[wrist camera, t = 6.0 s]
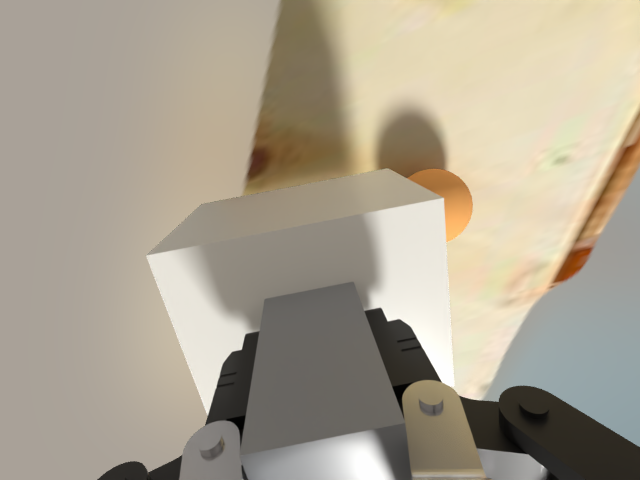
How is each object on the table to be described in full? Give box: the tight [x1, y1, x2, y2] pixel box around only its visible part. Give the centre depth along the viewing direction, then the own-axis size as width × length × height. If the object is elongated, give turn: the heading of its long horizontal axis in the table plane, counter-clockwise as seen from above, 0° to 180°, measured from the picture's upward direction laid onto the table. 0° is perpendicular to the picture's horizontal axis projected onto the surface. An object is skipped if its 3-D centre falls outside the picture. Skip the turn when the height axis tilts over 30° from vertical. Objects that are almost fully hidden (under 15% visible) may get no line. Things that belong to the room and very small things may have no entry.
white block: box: [146, 168, 454, 480], centre depth 13 cm, size 8×10×13 cm
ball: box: [407, 169, 473, 242], centre depth 23 cm, size 5×5×5 cm
